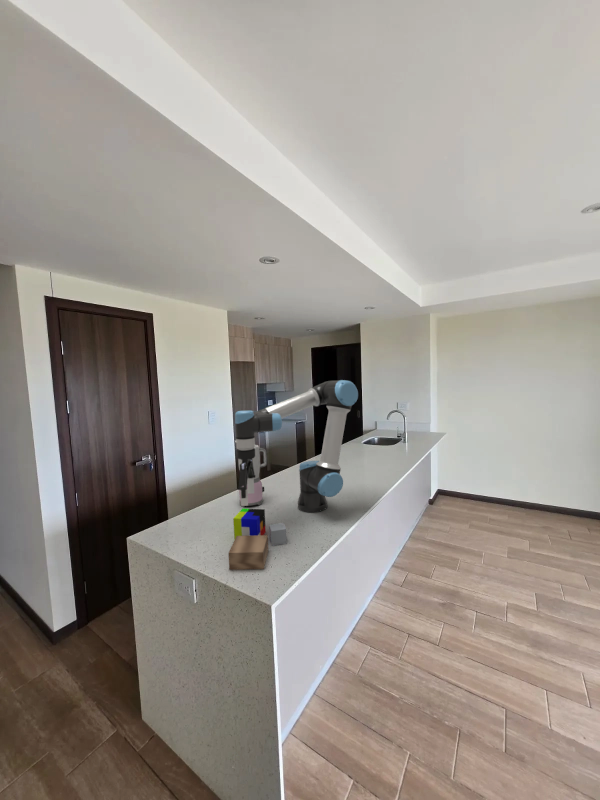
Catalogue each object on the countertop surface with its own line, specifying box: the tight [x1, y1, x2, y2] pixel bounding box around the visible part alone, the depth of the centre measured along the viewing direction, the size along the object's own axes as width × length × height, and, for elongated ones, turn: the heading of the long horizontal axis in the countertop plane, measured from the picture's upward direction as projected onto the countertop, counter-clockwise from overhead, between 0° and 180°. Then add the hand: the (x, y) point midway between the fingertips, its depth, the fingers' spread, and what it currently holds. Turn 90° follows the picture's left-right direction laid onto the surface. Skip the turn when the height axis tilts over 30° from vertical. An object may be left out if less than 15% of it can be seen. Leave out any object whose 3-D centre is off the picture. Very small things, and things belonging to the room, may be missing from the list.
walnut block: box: [228, 534, 269, 571], centre depth 116 cm, size 12×12×6 cm
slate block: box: [268, 522, 288, 547], centre depth 129 cm, size 6×6×6 cm
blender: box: [236, 444, 268, 508], centre depth 169 cm, size 16×12×32 cm
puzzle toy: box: [232, 507, 267, 541], centre depth 133 cm, size 10×10×10 cm
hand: (248, 499), depth 132 cm, fingers open, 13 cm apart
